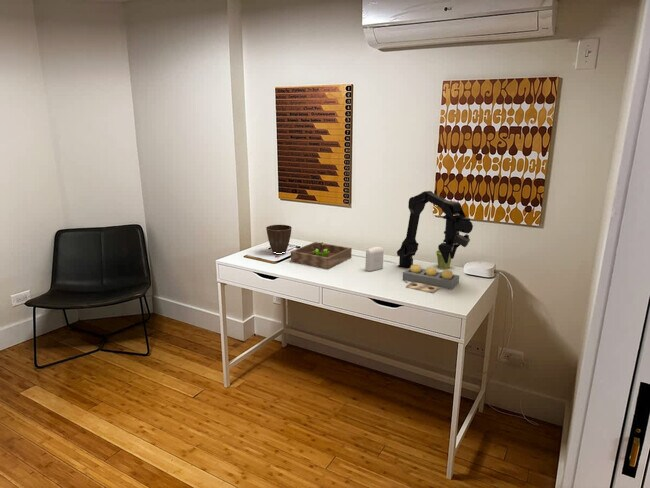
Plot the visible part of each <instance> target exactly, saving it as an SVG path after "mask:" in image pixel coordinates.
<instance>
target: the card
mask: <svg viewBox="0 0 650 488" xmlns="http://www.w3.org/2000/svg"><path fill="white" fill-rule="evenodd" d="M405 288H406V289H410V290H415V291H419V292H420V291H421V292H424V293H425V292H426V293H431V294H435V293H436V292H437V291H439V290H440V287H437V286H432V285H427V284H422V283H417V282H409V283H408V284H406V286H405Z"/></svg>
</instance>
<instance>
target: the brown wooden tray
mask: <svg viewBox="0 0 650 488" xmlns="http://www.w3.org/2000/svg"><path fill="white" fill-rule="evenodd" d="M320 243H321V242H317V241H314V242H312V243H309V244H306V245H304V246H301V247H298V248H296V249H294V250H291V251H290V263H294V264H301V265H304V266H309V267H315V268H321V269H324V270H330V269H332V268H334V267H337V266H338V265H340V264H343V263H344V262H346V261H348V260H351V259H352V247H349V246H348V247H347V246H346V247H345V246H341V245H336V244H329V243H324V242H323V243H324V246H322V248H323V250H324V249H327V252H329V251H330V252H331V253H335V254H334V255H332V256H330V257H328V258H327V257H322V256H317V255H311V254H308V253H313V251H315V250H316V249H318V248H317V247H319V248H321V246H320ZM312 246H317V247H314V248H313V249H312Z"/></svg>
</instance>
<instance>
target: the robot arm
mask: <svg viewBox="0 0 650 488" xmlns="http://www.w3.org/2000/svg"><path fill="white" fill-rule="evenodd" d="M427 203H431V204H432V205H434V206H436V207H438V208H440V209H441V212H442V213H444V214H445V215H444V216H442V219H444V220H445V229H444V231H443V235H444V239H442V240H443V241H442V242H441V243H440V244H438V247H437V249H438V250H439V251H440V252H441V254H442V257H443V259H444V261H445V263H448V260H449V256H450V257H451V260H453V259H454V258H455V255H456V251H457V250H458V248H459V247H460V246H462V247H463V248H466V247H468V245H469V243H470V240H471V239H470V235H469V234H470V233H471V232H472V231H473V227H474V225H473V222H472V221H471V218H468V217H466V214H465V212H464V209H463V208H462V204H461V203H460V202H457V201H455V200H448V199H445V198H444V197H442V196H440V195H438V194H436V193H434V192H433V191H431V190H425V191H422V192H421V193H418V194H417V195H414V196H411V197H410V198H409V199H408V203H407V204H408V205H407V206H408V210H409V212H410V213H409V218H408V219H409V220H408V223H407V224H408V225H407V230H406V236H405V237H404V239H403V240H402V243H401V245H400V248H399V249H398V250H397V251H396V254H397V256H398V257H399V259H398V261H399V262H398V265H397V267H399V268H403V269H409V268H410V267H411V265H414V258H413V256H415V255H416V253H417V251H418V250H419V244H420V243H418V242H417V240H416V239H417V238H416V237H417V232H418V226H419V222H420V215H421V214H422V212H423V211H424V209H425V206H426V204H427ZM460 232H461V233H463V234H465V235H463V234H460Z"/></svg>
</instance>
